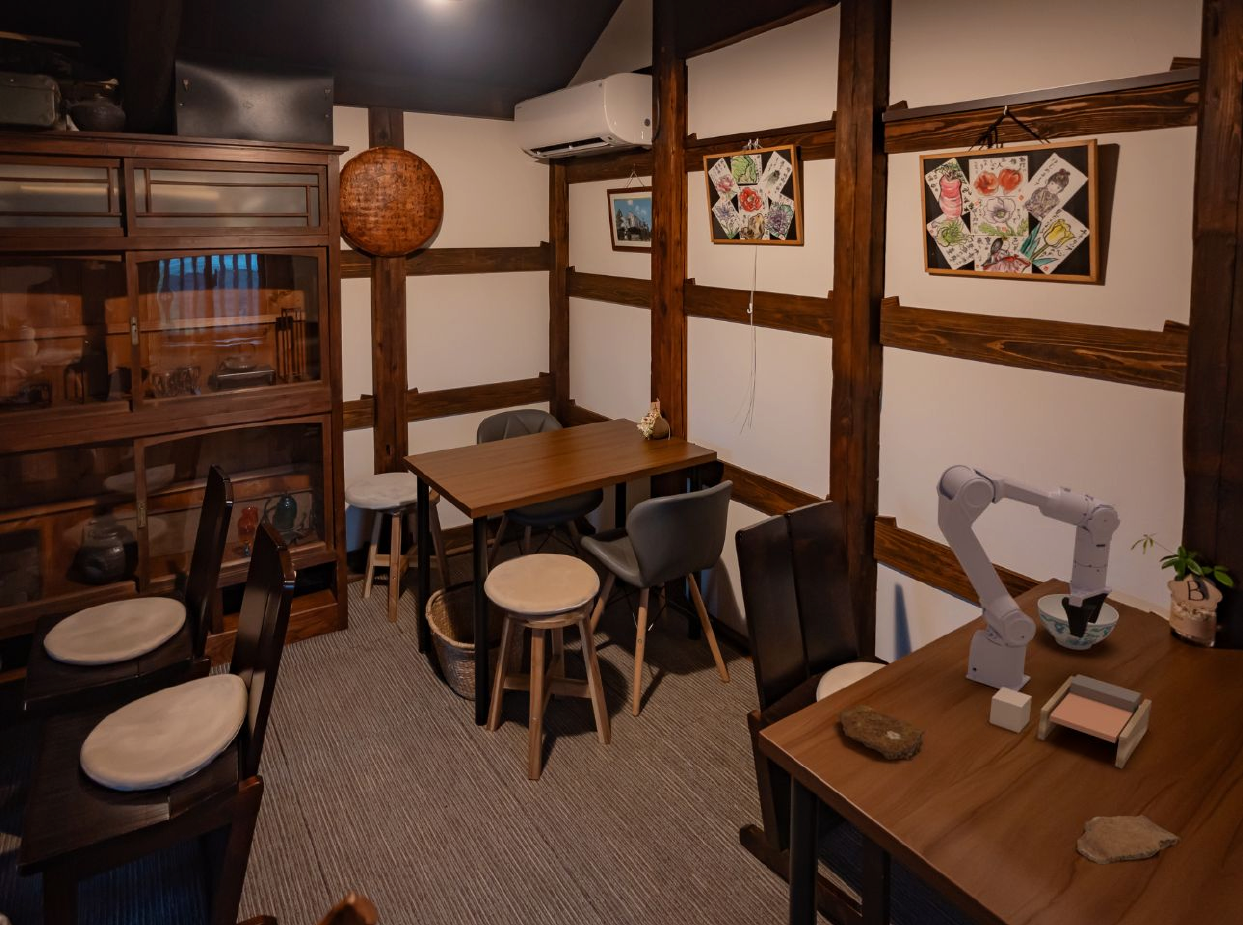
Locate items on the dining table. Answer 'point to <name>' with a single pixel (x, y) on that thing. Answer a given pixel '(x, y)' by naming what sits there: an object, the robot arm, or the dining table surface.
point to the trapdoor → (1097, 708)
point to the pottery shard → (1122, 839)
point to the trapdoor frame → (1126, 739)
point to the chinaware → (1059, 626)
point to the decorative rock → (881, 732)
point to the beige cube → (1010, 709)
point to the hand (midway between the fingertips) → (1083, 628)
